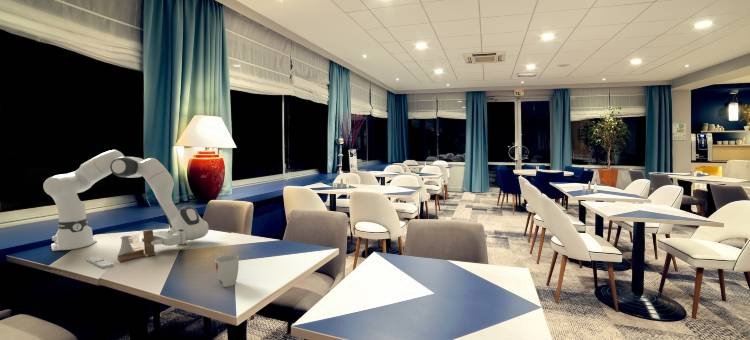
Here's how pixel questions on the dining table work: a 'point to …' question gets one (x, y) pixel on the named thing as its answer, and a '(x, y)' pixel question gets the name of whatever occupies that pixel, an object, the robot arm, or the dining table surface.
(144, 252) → the brown wooden l-shaped piece
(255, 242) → the dining table surface
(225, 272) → the cup
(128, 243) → the flask
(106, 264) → the broken grey strip
